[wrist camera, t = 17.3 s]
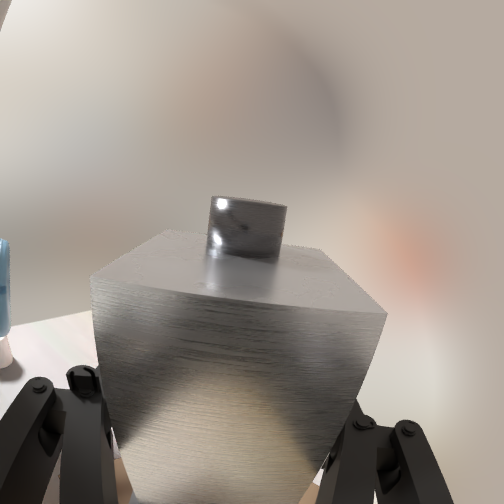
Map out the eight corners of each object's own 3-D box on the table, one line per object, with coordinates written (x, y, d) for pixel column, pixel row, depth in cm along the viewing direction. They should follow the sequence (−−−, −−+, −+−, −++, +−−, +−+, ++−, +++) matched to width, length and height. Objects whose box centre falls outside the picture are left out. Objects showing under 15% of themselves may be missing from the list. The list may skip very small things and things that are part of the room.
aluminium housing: (128, 521, 8) (49, 197, 5) (159, 423, 16) (161, 188, 13) (292, 539, 8) (446, 250, 5) (280, 437, 17) (336, 211, 13)
